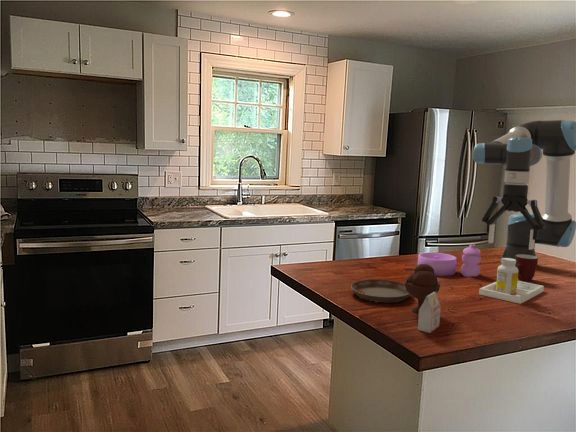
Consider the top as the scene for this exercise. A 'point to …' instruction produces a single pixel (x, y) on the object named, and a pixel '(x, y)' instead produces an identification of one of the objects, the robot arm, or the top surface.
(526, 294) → the two-compartment tray
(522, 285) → the light grey round disc
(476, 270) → the container set
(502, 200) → the robot arm
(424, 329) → the tea bag
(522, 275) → the mug
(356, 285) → the plant saucer
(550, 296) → the top surface
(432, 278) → the ice cream bowl
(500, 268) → the supplement bottle
